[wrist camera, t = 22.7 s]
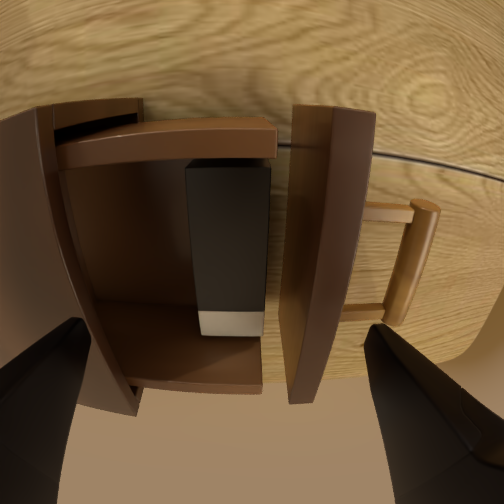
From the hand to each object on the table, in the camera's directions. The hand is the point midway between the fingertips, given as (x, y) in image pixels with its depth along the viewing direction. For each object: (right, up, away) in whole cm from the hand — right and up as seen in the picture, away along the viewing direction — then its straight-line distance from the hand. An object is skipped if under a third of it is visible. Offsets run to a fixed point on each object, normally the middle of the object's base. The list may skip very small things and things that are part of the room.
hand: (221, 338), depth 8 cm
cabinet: (-12, +5, +8) cm, 15 cm away
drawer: (-1, +4, +7) cm, 8 cm away
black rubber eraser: (0, +3, +6) cm, 7 cm away
